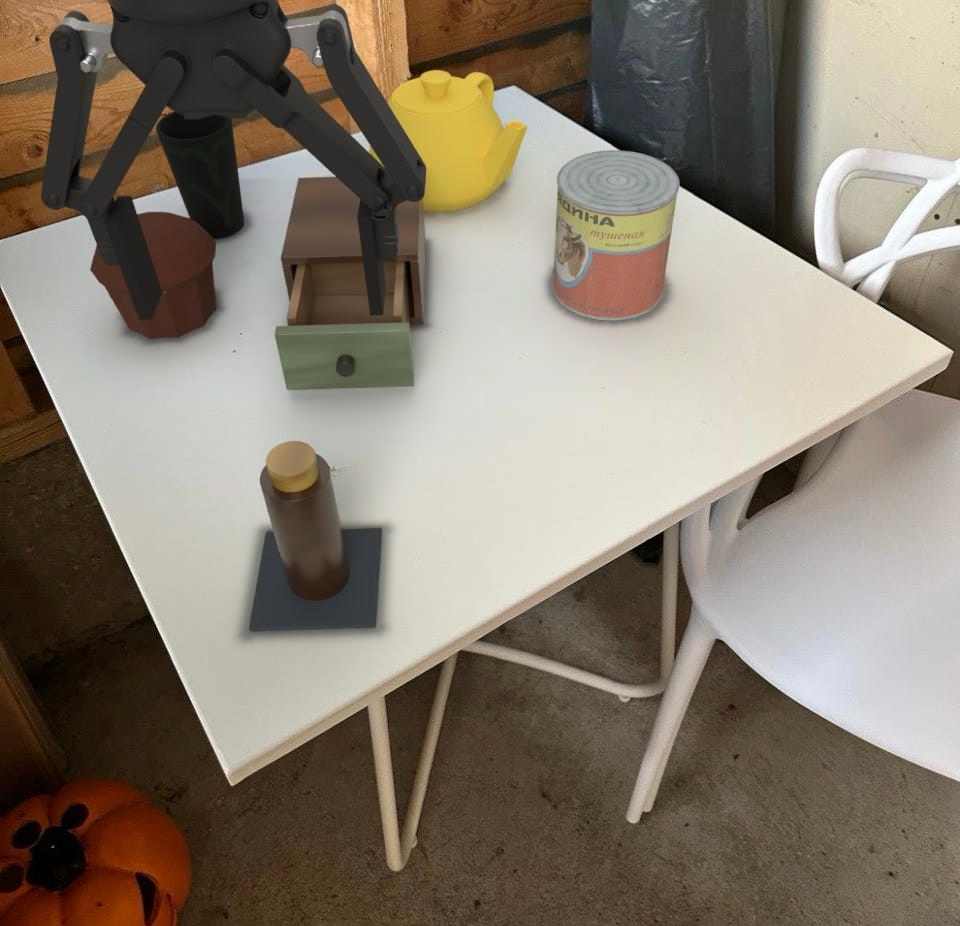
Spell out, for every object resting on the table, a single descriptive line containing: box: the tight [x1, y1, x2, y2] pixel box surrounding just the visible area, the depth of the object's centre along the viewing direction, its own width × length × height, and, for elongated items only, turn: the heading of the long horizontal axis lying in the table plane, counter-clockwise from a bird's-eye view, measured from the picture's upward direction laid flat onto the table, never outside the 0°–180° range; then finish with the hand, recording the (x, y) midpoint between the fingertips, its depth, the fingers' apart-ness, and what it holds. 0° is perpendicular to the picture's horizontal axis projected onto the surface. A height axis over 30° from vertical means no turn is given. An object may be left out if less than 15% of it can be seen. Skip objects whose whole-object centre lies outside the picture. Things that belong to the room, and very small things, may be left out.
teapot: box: [368, 69, 528, 213], centre depth 105 cm, size 20×19×13 cm
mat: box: [248, 527, 383, 632], centre depth 69 cm, size 9×9×1 cm
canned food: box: [551, 149, 681, 322], centre depth 90 cm, size 11×11×12 cm
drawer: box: [274, 261, 415, 391], centre depth 85 cm, size 15×11×6 cm
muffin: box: [89, 211, 217, 340], centre depth 89 cm, size 12×11×10 cm
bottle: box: [259, 440, 349, 601], centre depth 65 cm, size 5×5×13 cm
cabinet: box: [280, 176, 427, 326], centre depth 93 cm, size 15×13×8 cm
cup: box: [155, 111, 245, 240], centre depth 100 cm, size 8×8×12 cm
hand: (264, 304), depth 55 cm, fingers open, 13 cm apart
